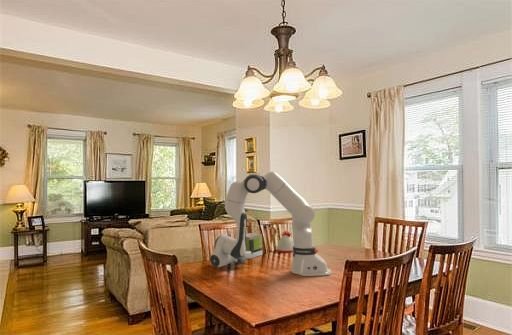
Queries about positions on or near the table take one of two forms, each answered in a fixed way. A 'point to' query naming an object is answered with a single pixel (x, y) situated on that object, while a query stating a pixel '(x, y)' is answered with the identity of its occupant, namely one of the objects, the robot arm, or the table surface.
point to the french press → (241, 261)
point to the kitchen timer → (285, 243)
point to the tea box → (254, 244)
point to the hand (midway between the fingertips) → (241, 251)
